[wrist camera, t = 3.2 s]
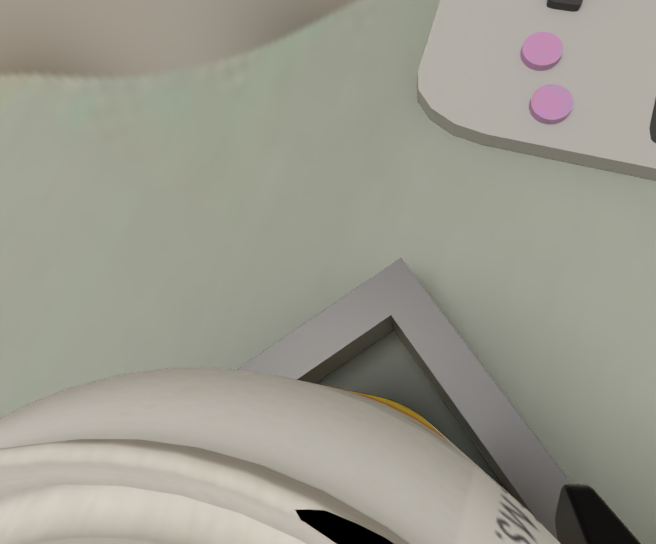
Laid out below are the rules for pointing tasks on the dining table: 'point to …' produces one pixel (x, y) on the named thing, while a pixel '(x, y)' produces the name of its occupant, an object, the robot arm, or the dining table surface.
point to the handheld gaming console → (547, 79)
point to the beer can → (241, 467)
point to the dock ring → (438, 365)
